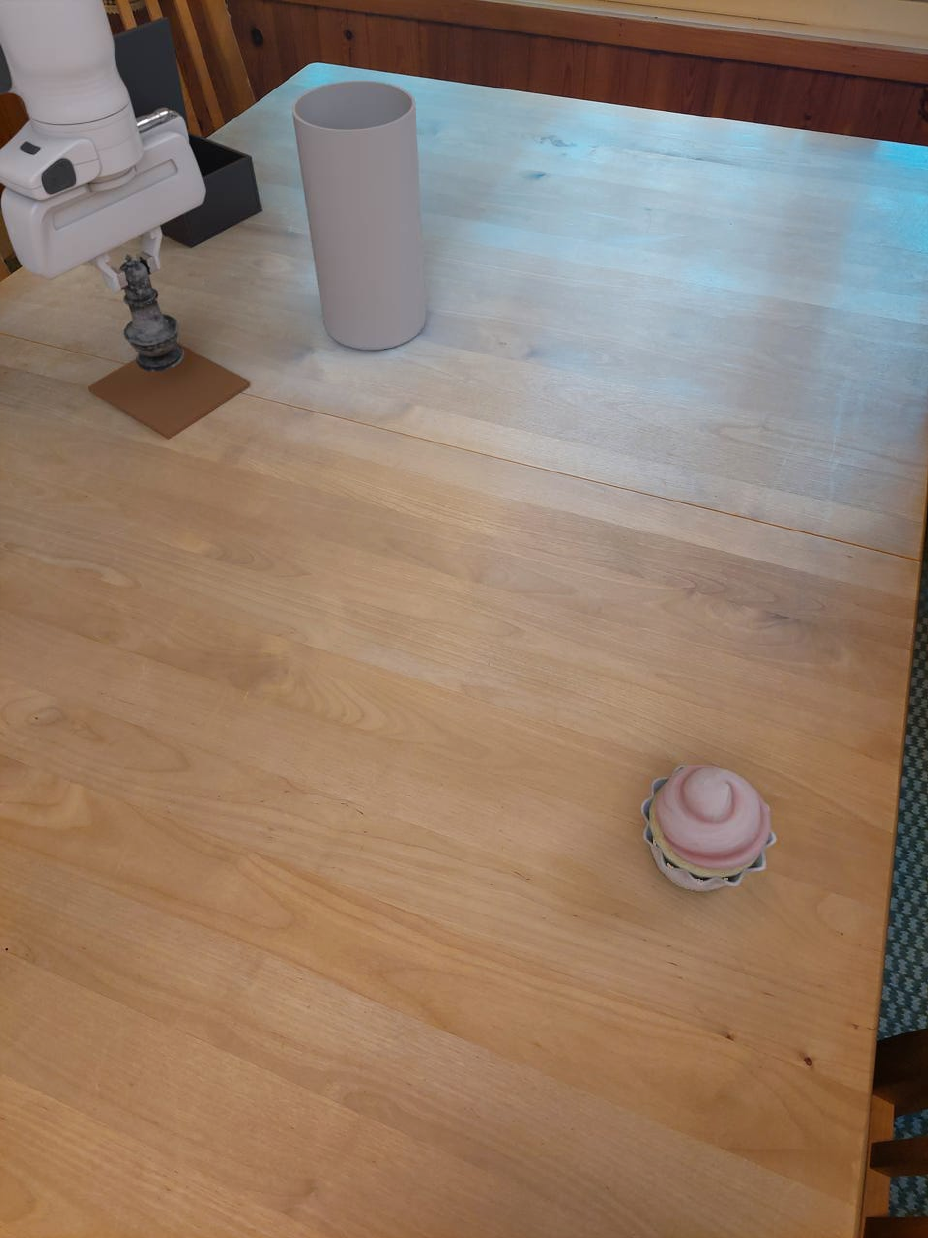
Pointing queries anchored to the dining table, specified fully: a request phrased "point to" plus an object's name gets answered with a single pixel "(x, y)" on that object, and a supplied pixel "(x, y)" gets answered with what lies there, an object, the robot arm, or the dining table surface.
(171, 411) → the cork mat
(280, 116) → the dining table surface
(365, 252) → the cylinder vase
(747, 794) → the cupcake
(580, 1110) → the dining table surface
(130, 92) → the dark hinged lid
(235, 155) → the dark open-top box
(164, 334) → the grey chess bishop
